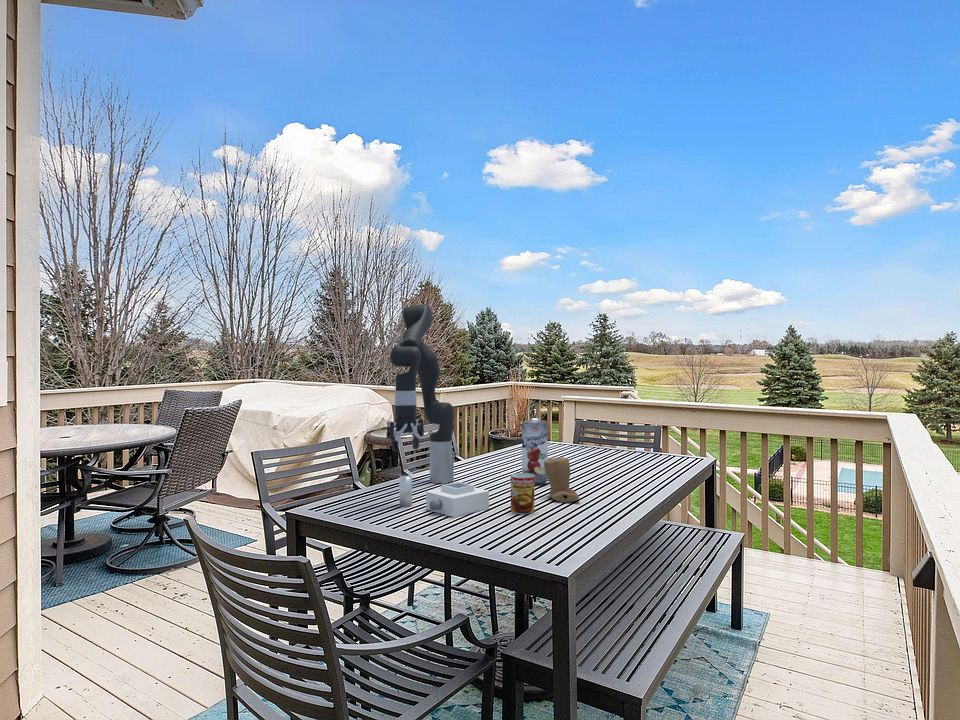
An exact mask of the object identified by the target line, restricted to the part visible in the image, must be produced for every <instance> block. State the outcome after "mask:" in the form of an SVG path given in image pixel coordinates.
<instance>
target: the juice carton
mask: <svg viewBox="0 0 960 720" xmlns="http://www.w3.org/2000/svg"><path fill="white" fill-rule="evenodd" d="M521 427H522V429H521V431H522V432H521V448H522V449H521V453H522V454H521V456H522V457H521V468H522V469H521V470H522V471H521V473H529V474H533V475H534V486H546V484H547V480H548V477H547V475H546V472H545V468H544V461H545V460H547V459H549V441H548V440H549V439H548V437H549V434H548V433H549V432H548V430H549V429H548V423H547V421H546V420H539V418H536V417H533V418H531V420H523V422H522V426H521Z"/></svg>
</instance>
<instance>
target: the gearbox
mask: <svg viewBox="0 0 960 720" xmlns="http://www.w3.org/2000/svg"><path fill="white" fill-rule="evenodd" d="M425 496H426V497H425V499H426V501H425V502H426V503H425V504H426V508H425V509H426V510H427V509H428V510H427V511H430V510H431V512H434V513H437V512H438V514H440V513H441V515H444V514H445V516H447V515H448V516H447V517H450V516H451V518H457V517H460V516H461V517H462V516H464V515H468V514H473V513H477V512H481V511H484V510H488V509H490V491H489V490H486V489H484V488H483V489H481V488H478V487H475V485H474V484H469V483H467V482H466V483H465V482H461V481H455V482H450V483H445V484H440V488H437V489H432V490H427V491H426V495H425Z"/></svg>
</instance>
